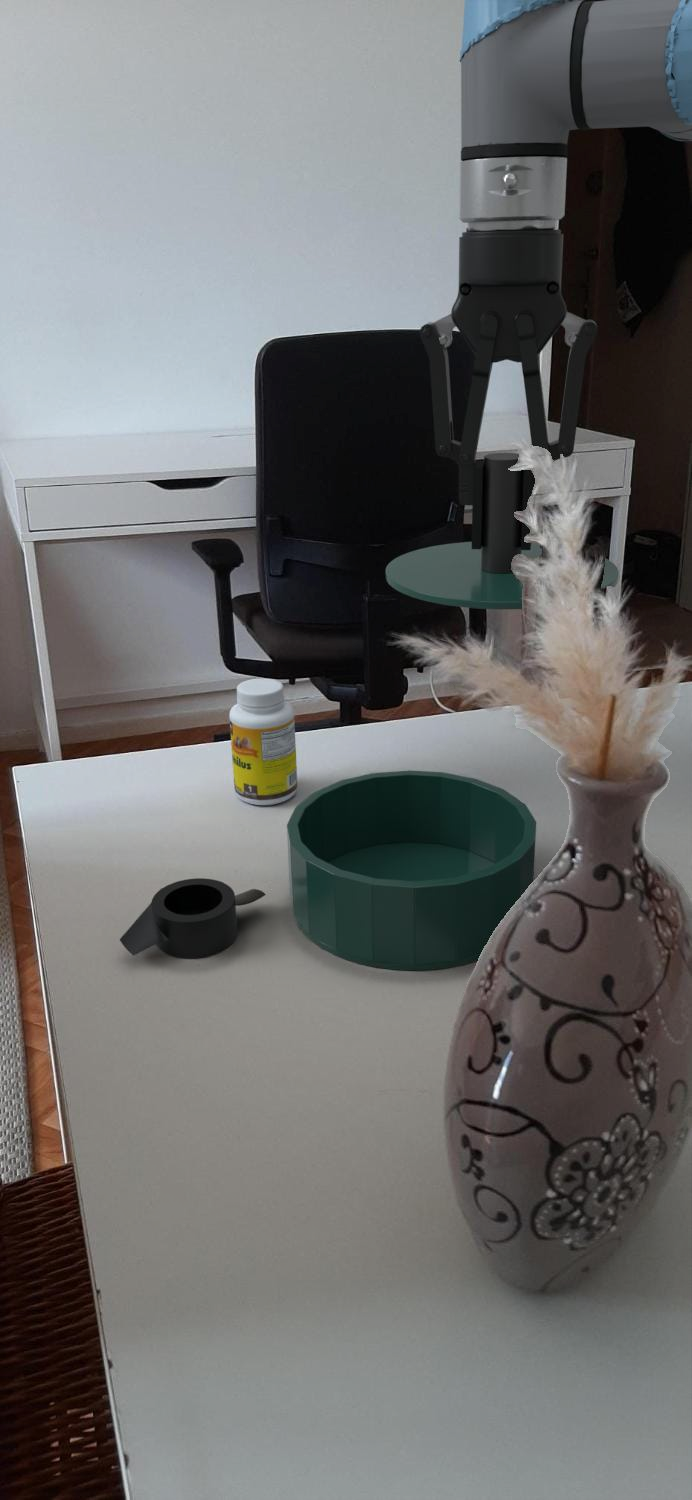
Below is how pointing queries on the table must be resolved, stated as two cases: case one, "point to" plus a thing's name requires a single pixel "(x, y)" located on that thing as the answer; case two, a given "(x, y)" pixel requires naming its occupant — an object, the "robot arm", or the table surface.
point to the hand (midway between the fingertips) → (501, 544)
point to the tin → (408, 867)
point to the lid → (478, 552)
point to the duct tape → (189, 919)
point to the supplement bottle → (263, 743)
